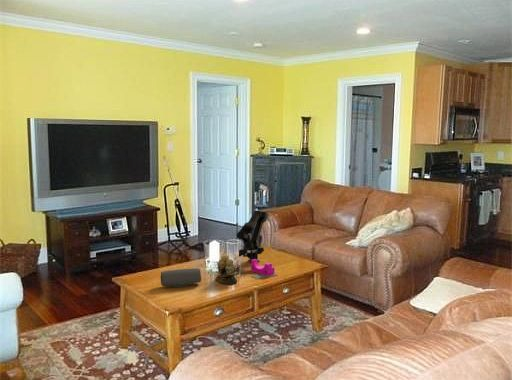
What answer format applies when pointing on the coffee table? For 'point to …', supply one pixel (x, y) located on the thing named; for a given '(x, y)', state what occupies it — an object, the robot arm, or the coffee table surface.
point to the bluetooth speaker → (180, 277)
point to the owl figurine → (226, 271)
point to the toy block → (262, 268)
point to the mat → (262, 276)
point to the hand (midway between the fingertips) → (254, 263)
